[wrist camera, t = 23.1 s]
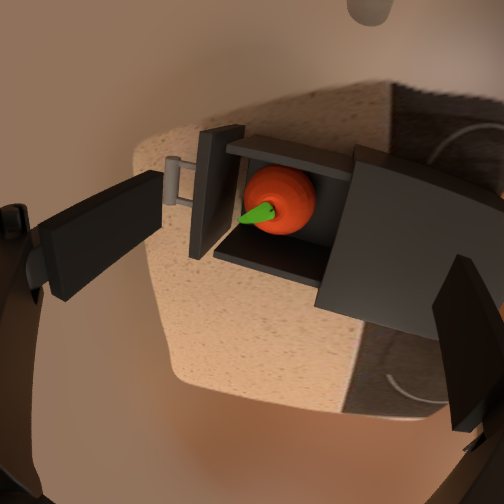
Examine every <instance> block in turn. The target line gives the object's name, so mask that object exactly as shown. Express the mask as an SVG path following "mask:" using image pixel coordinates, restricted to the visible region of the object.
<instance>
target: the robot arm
mask: <svg viewBox="0 0 504 504" xmlns="http://www.w3.org/2000/svg"><path fill="white" fill-rule="evenodd" d="M163 177H164V173H163V172H158V171H153V170H148V171H146V172H144V173H141V174H139V175H137V176H134V177H132V178H130V179H128V180H126V181H124V182H121V183H119V184H117V185H115V186H112V187H110V188H108V189H106V190H104V191H102V192H100V193H98V194H96V195H93V196H91V197H89V198H87V199H85V200H83V201H81V202H79V203H77V204H75V205H73V206H71V207H70V208H68V209H66V210H64V211H62V212H60V213H58V214H56V215H54V216H52V217H51V218H49V219H47V220H45V221H43V222H41V223H40V224H38V226H36V227H34V228H33V229H31V230H30V224H29V218H28V211H27V206H26V205H24V204H10V205H6V206H4V207H2V208H0V504H55V503H53V501H51V500H50V499H48V498H47V497H46V496H44V495H43V491H42V486H41V482H40V479H39V476H38V474H37V472H36V469H35V467H34V464H33V459H32V439H31V411H32V410H31V409H32V386H33V385H32V384H33V371H34V360H35V350H36V342H37V334H38V327H39V320H40V313H41V307H42V302H43V296H44V292H43V287H42V285H43V284H44V283H46V282H47V281H49V285H50V289H51V293H52V295H54V296H56V297H57V298H59V299H61V300H63V301H64V302H66V301H68V300H69V299H70V298H71V297H72V296H74V295H75V294H76V293H77V292H78V291H80V290H81V289H82V288H83V287H85V286H86V285H87V284H88V283H89V282H90V281H92V280H93V279H94V278H96V277H97V276H98V275H99V274H101V273H102V272H103V271H104V270H106V269H107V268H108V267H109V266H111V265H112V264H113V263H115V262H116V261H117V260H119V259H120V258H121V257H122V256H124V255H125V254H126V253H128V252H129V251H130V250H132V249H133V248H134V247H136V246H137V245H138V244H140V243H141V242H142V241H144V240H145V239H146V238H148V237H149V236H150V235H152V234H153V233H154V232H156V231H157V230H158V229H160V228H161V227H162V198H163ZM431 307H432V311H433V315H434V320H435V324H436V329H437V333H438V338H439V343H440V348H441V353H442V359H443V364H444V370H445V376H446V383H447V390H448V397H449V405H450V413H451V423H452V431H460V432H468V433H471V432H472V431H473V430H474V429H475V428H476V427H477V426H478V425H479V424H480V423H481V422H482V424H483V430H484V431H483V432H482V433H481V434H480V435H479V436H478V437H477V438H475V439H474V440H473V441H472V442H471V443H470V444H469V445H468V446H466V448H464V449H463V451H464V452H465V451H466V450H468V451H467V452H466V453H465V455H464V456H463V457H462V459H461V460H460V461H459V463H458V464H457V465H456V467H455V468H454V469H453V471H452V472H451V473H450V474H449V476H448V477H447V478H446V479H445V481H444V482H443V483H442V484H441V485H440V487H439V488H438V489H437V490H436V491H435V493H434V494H433V495H432V496H431V497H430V498H429V499H428V500H427V502H426V503H425V504H504V322H503V320H502V318H501V316H500V313H499V311H498V309H497V307H496V305H495V303H494V301H493V299H492V297H491V295H490V293H489V291H488V289H487V287H486V285H485V283H484V281H483V279H482V277H481V275H480V274H479V272H478V270H477V268H476V266H475V264H474V263H473V261H472V259H471V258H468V257H465V256H462V255H459V254H457V255H456V257H455V259H454V261H453V264H452V266H451V268H450V270H449V272H448V274H447V276H446V279H445V281H444V283H443V285H442V287H441V289H440V291H439V293H438V295H437V297H436V299H435V301H434V302H433V304H432V306H431Z"/></svg>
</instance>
